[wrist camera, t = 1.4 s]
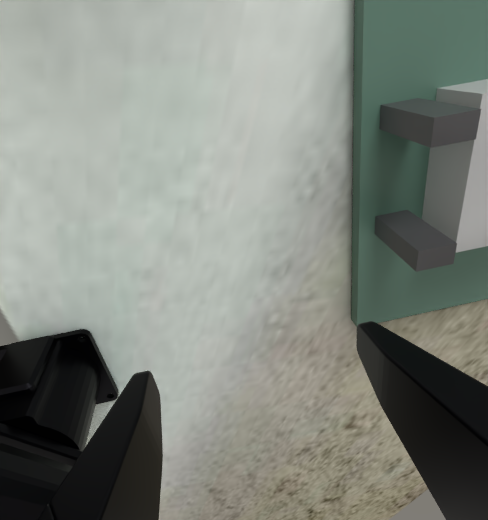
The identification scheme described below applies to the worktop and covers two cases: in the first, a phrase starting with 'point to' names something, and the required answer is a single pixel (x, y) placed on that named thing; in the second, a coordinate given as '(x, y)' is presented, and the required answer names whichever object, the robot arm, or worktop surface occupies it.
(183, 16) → the worktop surface
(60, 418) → the robot arm
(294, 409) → the worktop surface
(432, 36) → the board
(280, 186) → the worktop surface
